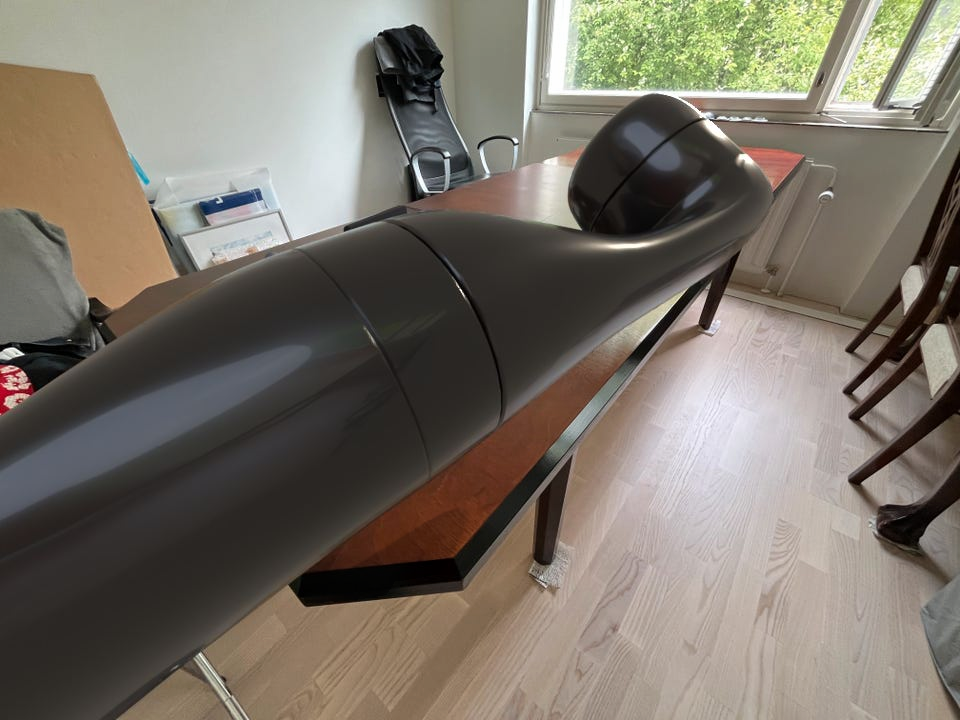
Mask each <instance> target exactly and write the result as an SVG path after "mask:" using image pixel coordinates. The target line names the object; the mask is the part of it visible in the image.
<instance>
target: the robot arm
mask: <svg viewBox="0 0 960 720" xmlns="http://www.w3.org/2000/svg"><path fill="white" fill-rule="evenodd" d="M773 201H774V192H773V187H772V183H771V181H770V179H769V178H768V176H767V174H766V173H765V172H764V170H763V169H762V168H761V166H760V165H759V164H758V163H757V162H756V161H755V160H753V158H751V156H749V155H748V154H747V153H746V152H745V151H744V150H743V149H742V148H740V146H739V145H737V144H736V143H735V142H734V141H733V140H732V139H730V138H729V137H728V136H727V135H726V134H725V133H724V132H723V131H722V130H721V129H720V128H718V127H717V125H715V124H714V123H713V122H712V121H710V120H709V119H708V118H707V117H706V116H705V114H703V113H701V111H699V110H698V109H697V108H695V106H693V105H692V104H690V103H688V102H687V101H685V100H683V99H682V98H679V97H678V96H676V95H674V94H672V93H668V92H661V91H660V92H659V91H658V92H657V91H655V92H651V93H648V94H644V95H642V96H639V97H638V98H636V99H633V100H632V101H630V102H628V103H627V104H626V105H624V106H623V107H622V108H620V109H619V110H618V111H617V112H616V113H615V114H614V115H613V116H611V117H610V118H609V120H607V121H606V122H605V123H604V124H603V125H602V126H601V127H600V129H598V131H597V132H596V133H595V134H594V136H593V137H592V138H591V139H590V140H589V142H588V143H587V145H586V146H585V147H584V148H583V151H582V152H581V154H580V156H579V158H577V161H576V163H575V165H574V166H573V169H572V171H571V175H570V177H569V181H568V186H567V204H568V208H569V211H570V214H571V215H572V217H573V219H574V221H575V223H576V224H577V225H578V227H579V228H580V229H578V228H573V227H568V226H562V225H559V224H554V223H548V222H542V221H538V220H532V219H527V218H523V217H518V216H511V215H505V214H501V213H493V212H485V211H476V210H475V211H474V210H462V209H450V208H449V209H425V210H419V211H418V210H417V211H412V212H411V211H410V212H407V214H403V215H399V216H395V217H392V218H388V219H384V220H381V221H378V222H374V223H371V224H368V225H365V226H362V227H358V228H355V229H352V230H349V231H346V232H344V231H343V232H340V233H336V234H334V235H330V236H327V237H324V238H321V239H318V240H315V241H311V242H308V243H304V244H302V245H299V246H296V247H293V248H291V249H287V250H284V251H280V252H279V253H278V252H277V253H278V254H275V255H273V256H270V257H267V258H265V257H264V258H265V259H264V258H262V259H260V260H257V261H255V262H252V263H250V264H248V265H245V266H243V267H240V268H238V269H237V270H236V269H235V270H234V271H231V272H229V273H227V274H224V275H222V276H221V277H219V278H217V279H215V280H213V281H210V282H208V283H207V284H205V285H203V286H201V287H199V288H198V289H196V290H194V291H192V292H191V293H188V294H187V295H185V296H184V297H182V298H180V299H178V300H177V301H175V302H174V303H172V304H170V305H168V306H167V307H165V308H163V309H161V310H160V311H158V312H157V313H155V314H153V316H151V317H149V318H147V319H146V320H144V321H143V322H141V323H140V324H137V325H136V326H135V327H133V328H131V329H130V330H128V331H126V332H125V333H123V334H122V335H120V336H119V337H117V338H115V339H114V340H112V341H111V342H109V343H107V344H106V345H104V346H103V347H101V348H100V349H98V350H97V351H95V352H93V353H92V354H91V355H88V357H86V358H85V359H83V360H82V361H80V362H79V363H77V364H76V365H74V366H73V367H70V368H69V369H68V370H66V371H65V372H63V373H62V374H60V375H59V376H58V377H56V378H54V379H53V380H51V381H50V382H49V383H47V384H45V385H44V386H43V387H41V388H40V389H38V390H37V391H35V392H33V393H32V394H31V395H29V396H28V397H27V398H25V399H23V400H22V401H21V402H18V403H17V404H16V405H14V406H13V407H12V408H10V409H8V410H7V411H6V412H4V413H2V414H1V415H0V720H117V719H119V718H121V716H123V715H124V714H125V713H127V711H129V710H130V709H131V708H132V707H134V706H135V705H136V704H137V703H139V701H141V700H142V699H143V698H145V697H146V696H148V695H149V694H150V693H151V692H152V691H154V690H155V689H156V688H157V687H158V686H160V685H161V684H162V683H163V682H165V681H166V680H167V679H168V678H169V677H171V676H172V675H173V674H175V673H176V672H177V671H178V670H180V669H181V668H182V667H184V666H185V665H186V664H188V663H189V662H190V661H192V660H193V659H194V658H195V657H196V656H198V655H199V654H200V653H202V652H203V651H204V650H206V649H207V648H208V647H209V646H211V645H212V644H214V643H215V642H216V641H217V640H219V639H220V638H222V637H223V636H224V635H225V634H227V633H228V632H230V630H231V629H233V628H234V627H235V626H237V625H238V624H239V623H241V622H242V621H243V620H245V618H247V617H248V616H250V615H251V614H252V613H253V612H255V611H256V610H257V609H258V608H260V607H261V606H262V605H264V604H265V603H266V602H268V601H269V600H270V599H272V598H273V597H274V596H275V595H277V594H278V593H279V592H281V591H282V590H283V589H285V588H286V587H287V586H288V585H290V584H291V583H293V581H295V580H297V578H299V577H300V576H301V575H303V574H304V573H305V572H308V570H309V569H311V568H312V567H314V566H315V565H316V564H318V563H319V562H320V561H321V560H324V558H326V557H327V556H329V555H330V554H331V553H332V552H334V551H335V550H336V549H338V548H339V547H340V546H342V545H343V544H344V543H346V542H347V541H349V540H350V539H352V538H353V537H354V536H356V535H357V534H359V533H360V532H361V531H363V530H364V529H366V528H367V527H368V526H370V525H371V524H372V523H374V522H375V521H377V520H378V519H379V518H381V517H382V516H384V515H385V514H386V513H388V512H389V511H391V510H392V509H394V508H395V507H397V506H398V505H400V504H401V503H402V502H404V501H405V500H406V499H408V498H409V497H411V496H412V495H414V494H415V493H416V492H418V491H419V490H420V489H422V488H424V487H425V486H426V485H428V484H429V483H430V482H431V481H433V480H434V479H436V478H437V477H438V476H440V475H441V474H442V473H443V472H444V471H446V470H447V469H449V468H450V467H451V466H452V465H454V464H455V463H457V462H458V461H459V460H460V459H462V458H463V457H465V456H466V455H467V454H468V453H470V452H471V451H473V449H475V448H476V447H477V446H479V445H480V444H481V443H483V442H484V441H486V440H487V439H488V438H489V437H490V436H491V435H493V434H494V433H496V432H497V431H498V430H499V429H500V428H502V427H503V426H505V424H507V423H508V422H509V421H511V419H513V418H514V417H515V416H517V414H519V413H520V412H521V411H523V410H524V409H525V408H526V407H527V406H529V405H530V404H531V403H532V402H533V401H535V400H537V398H538V397H540V396H541V395H542V394H543V393H544V392H546V391H547V390H548V389H549V388H551V386H553V385H554V384H555V383H556V382H557V381H559V380H560V379H561V378H563V377H564V376H565V375H566V374H567V373H569V372H570V371H571V370H572V369H574V367H576V366H577V365H578V364H580V363H581V362H582V361H583V360H584V359H585V358H587V357H588V356H589V355H591V354H592V353H593V352H595V351H596V350H597V349H598V348H599V347H601V346H602V345H603V344H605V343H606V342H607V341H609V340H610V339H612V338H613V337H614V336H615V335H617V334H619V333H620V332H622V331H623V330H624V329H626V328H628V327H629V326H630V325H632V324H634V323H635V322H636V321H639V319H641V318H643V317H644V316H646V315H648V314H649V313H651V312H652V311H654V310H656V309H658V308H659V307H660V306H662V305H664V304H665V303H666V302H668V301H669V300H671V299H673V298H674V297H676V296H678V295H679V294H681V293H683V292H684V291H686V290H688V288H690V287H692V286H694V285H695V284H697V283H698V282H700V281H701V280H702V279H704V278H706V277H707V276H709V275H710V274H712V273H713V272H715V271H716V270H717V269H719V268H720V267H721V266H723V265H724V264H726V263H727V262H728V261H730V259H731V258H732V257H733V256H735V255H736V254H737V253H738V252H740V250H742V249H743V248H744V246H745V245H746V244H747V243H749V242H750V240H751V239H752V238H753V237H754V236H756V234H757V232H758V231H759V230H760V229H761V227H762V226H763V224H764V222H765V221H766V219H767V217H768V216H769V213H770V211H771V209H772V204H773Z"/></svg>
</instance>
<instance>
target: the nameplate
mask: <svg viewBox="0 0 960 720" xmlns="http://www.w3.org/2000/svg"><path fill="white" fill-rule="evenodd" d="M407 213H408V209H407V207H406V205H401V204H399V205H395V206H393V207H390V208H388V209H385V210H383V211H380V212H378V213H375V214H373V215H370V216H367V217H364V218H362V219H359V220H357V221H354V222H351V223H349V224H346V225H344V227H343V232H346V231H349V230H352V229H355V228H358V227H362V226H365V225H368V224H371V223H374V222H378V221H381V220H384V219H388V218H392V217H395V216H399V215H403V214H407Z"/></svg>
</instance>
